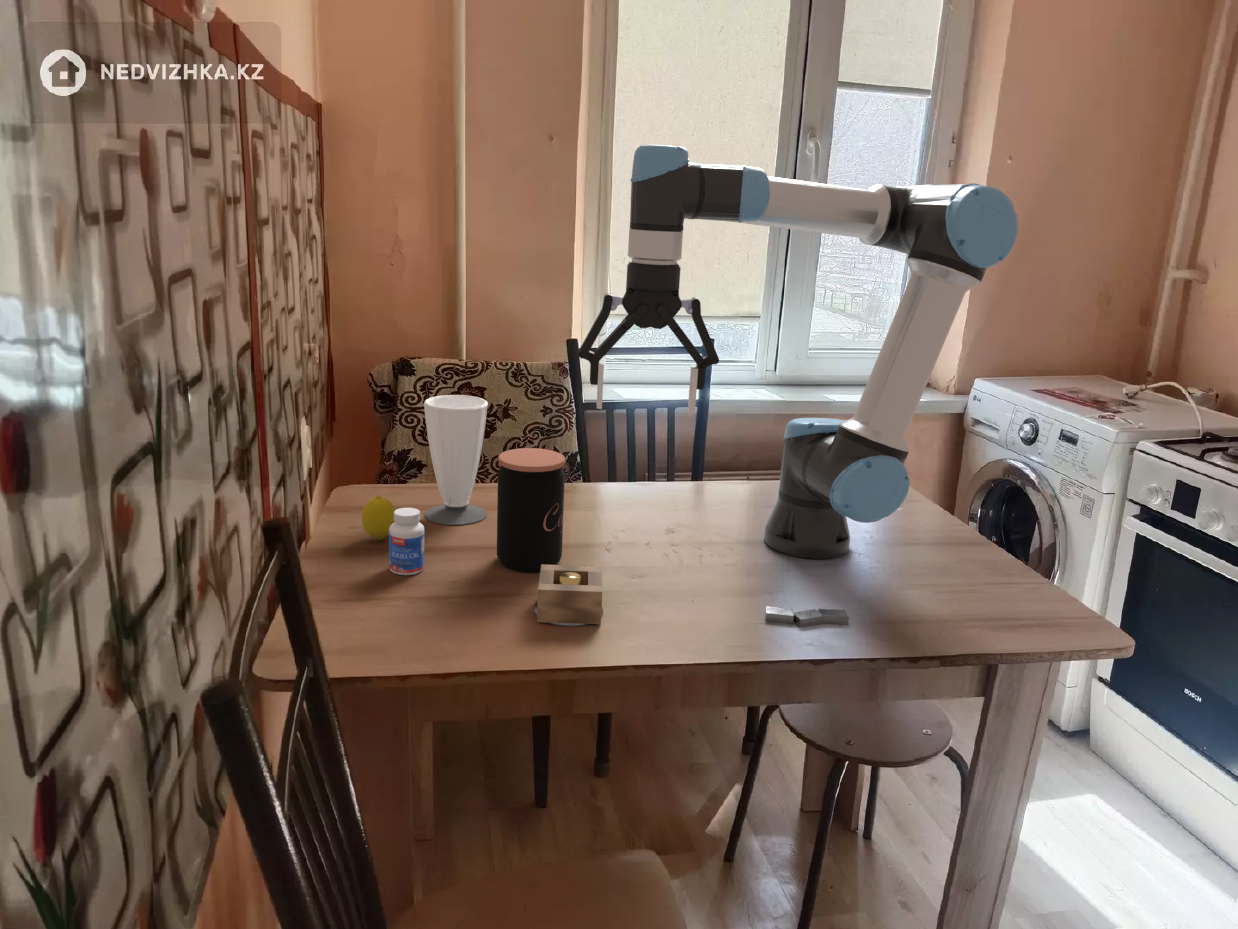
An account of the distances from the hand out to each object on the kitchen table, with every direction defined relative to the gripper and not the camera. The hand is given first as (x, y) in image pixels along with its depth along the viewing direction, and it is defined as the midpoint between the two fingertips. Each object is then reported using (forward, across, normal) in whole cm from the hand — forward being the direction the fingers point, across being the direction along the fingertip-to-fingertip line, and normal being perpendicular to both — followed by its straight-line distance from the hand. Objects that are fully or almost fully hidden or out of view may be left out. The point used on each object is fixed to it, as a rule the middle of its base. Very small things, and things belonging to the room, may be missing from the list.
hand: (645, 408), depth 135 cm
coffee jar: (+29, +17, -9) cm, 35 cm away
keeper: (+29, +10, +9) cm, 32 cm away
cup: (+29, +32, -30) cm, 53 cm away
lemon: (+29, +43, -16) cm, 54 cm away
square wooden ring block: (+28, +10, +9) cm, 31 cm away
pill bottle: (+29, +36, -4) cm, 46 cm away
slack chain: (+29, -25, +9) cm, 39 cm away
